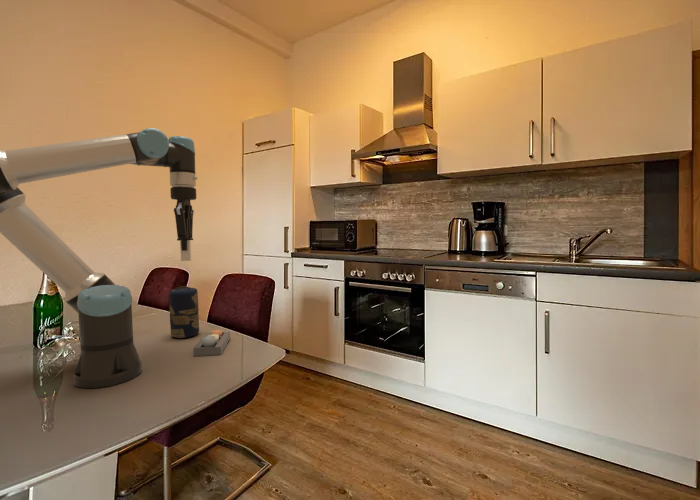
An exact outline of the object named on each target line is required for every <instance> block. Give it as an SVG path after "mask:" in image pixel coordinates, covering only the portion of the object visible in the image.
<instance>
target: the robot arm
mask: <svg viewBox="0 0 700 500" xmlns="http://www.w3.org/2000/svg"><path fill="white" fill-rule="evenodd" d="M125 165H135V166H145V167H148V166H149V167H159V168H160V167H162V168H169V185H170V189H169V190H170V199H171V200H176V205H175V207H174V208H173V212H174V217H175V224H176V225H175V226H176V227H175V228H176V234H177V239H176V240H177V241H179V243H180V248H179V249H180V261H181V262H188V261H189V262H190V261H192V249H191V248H192V247H191V244H192V243H191V241H194V238H193V225H194V223H193V222H194V219H193V218H194V214H195V213H194V212H195V211H194V209H193V206H192V204H191V201H194V200H197V189H196V188H195V187H196V186H197V185H196V184H197V183H196V182H197V181H196V180H198V176H196V148H195V141H194V140H193V139H192V138H190V137H187V136H182V135H174V136H173V135H172V136H170V137H167V135H166V134H165V133H164V132H163V131H161V130H160V129H158V128H156V127H155V128H154V127H148V128H145V129H142V130H140V131H138V132H131V133H126V134H125V133H124V134H117V135H111V136H110V135H109V136H103V137H97V138H96V137H95V138H88V139H82V140H76V141H75V140H74V141H67V142H60V143H53V144H46V145H45V144H44V145H38V146H32V147H31V146H30V147H24V148H18V149H17V148H16V149H10V150H3V149H0V234H1V235H2V236H4V238H5V239H6V240H8V242H10V244H11V245H13V246H14V247H15V248H16V249H17V250H18V251H19V252H21V253H22V255H24V256H25V257H26V259H28V260H29V261H30V262H31V263H32V264H34V265H35V266H36V267H37V268H38V269H39V270H40V271H41V272H42V273H43V274H44V275H45V276H47V278H49V279H50V280H51V281H52V282H53V283H54V284H55V285H56V286H57V287H59V288H60V289H61V290H62V291H63V292H64V293H65V295H64V301H65V303H67V304H68V305H69V306H70V307H71V308H72V309H73V310H74V311H75V312H76V313H78V327H79V329H78V330H79V331H78V332H79V343H80V353H79V356H78V359H77V362H76V366H75V369H74V371H73V375H72V376H73V377H72V378H73V385H74V386H75V387H77V388H83V389H93V388H94V389H97V388H104V387H110V386H114V385H117V384H122V383H124V382H127V381H129V380H132V379H134V378H136V377H137V376H139V375H140V374H141V373H142V372H143V362H142V360H141V357H140V354H139V353H138V350H137V348H136V346H135V344H134V329H133V328H134V327H133V305H132V303H133V297H132V292H131V290H130V289H129V287H126V286H124V285H119V284H115V283H114V281H112V280H111V279H110V278H109V277H108V276H107V274H105V273H104V272H97V271H96V272H95V271H94V270H93V269H92V268H91V267H90V266H89V265H88V264H87V263H86V262H84V260H83V259H82V258H81V257H80V256H79V255H78V254H77V253H76V252H75V251H74V250H73V249H72V248H71V247H70V246H69V245H68V244H66V243H65V241H64V240H62V239H61V238H60V237H59V236H58V235H57V234H56V233H55V232H54V230H52V229H51V228H50V227H49V226H48V225H47V224H46V223H45V222H44V221H43V220H42V219H41V218H40V217H39V216H38V215H37V214H36V213H35V212H34V211H33V210H32V209H31V208H30V207H29V206H28V205H27V204H26V194H25V193H24V192H23V191H22V190H21V189H20V188H19V185H21V184H27V183H32V182H36V181H37V182H38V181H42V180H48V179H53V178H60V177H64V176H70V175H75V174H81V173H87V172H92V171H96V170H98V171H99V170H102V169H108V168H113V167H115V168H116V167H119V166H125Z"/></svg>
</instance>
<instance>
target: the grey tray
mask: <svg viewBox="0 0 700 500" xmlns="http://www.w3.org/2000/svg"><path fill="white" fill-rule="evenodd" d="M208 335H211V332H207V333H204V335H203V336H202V337H201V338H200V340H199V341H198V342H197V344H195V346H194V347H193V351H192V352H193V354H192V355H193V357H203V356H204V357H206V356H221V355H222V354H223V353H224V351H225V349H226V347H227V346H226V345H228V344H229V342H230V340H231V332H230V331H222V336H219V341H215V346H213V347H203V337H206V336H208ZM229 339H230V340H229ZM228 341H229V342H228ZM227 343H228V344H227ZM223 350H224V351H223Z"/></svg>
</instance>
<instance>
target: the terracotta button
mask: <svg viewBox="0 0 700 500" xmlns="http://www.w3.org/2000/svg"><path fill="white" fill-rule="evenodd" d="M222 332H223V330H222V329H212V330H210V333H211V334H218V335H219V336H222Z"/></svg>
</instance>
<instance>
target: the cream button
mask: <svg viewBox="0 0 700 500" xmlns="http://www.w3.org/2000/svg"><path fill="white" fill-rule="evenodd" d="M208 336H215V341H219V335H218V334H211V335H208Z"/></svg>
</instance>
